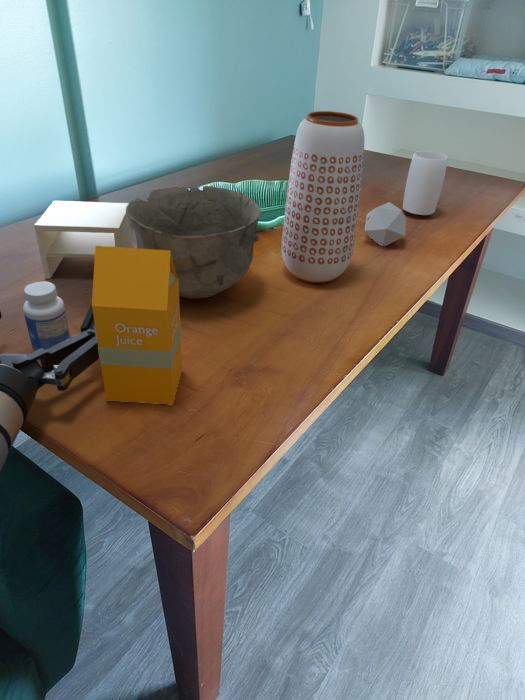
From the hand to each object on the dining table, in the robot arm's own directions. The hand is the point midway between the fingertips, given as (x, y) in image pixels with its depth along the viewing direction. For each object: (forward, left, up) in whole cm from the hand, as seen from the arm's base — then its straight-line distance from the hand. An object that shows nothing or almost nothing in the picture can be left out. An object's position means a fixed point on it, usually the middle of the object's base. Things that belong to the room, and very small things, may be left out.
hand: (46, 309), depth 75 cm
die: (+59, +41, -6) cm, 72 cm away
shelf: (0, +26, -6) cm, 27 cm away
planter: (+42, +25, -6) cm, 49 cm away
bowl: (+20, +18, -6) cm, 28 cm away
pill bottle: (0, -1, -6) cm, 6 cm away
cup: (+72, +59, -6) cm, 93 cm away
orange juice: (+15, -9, -6) cm, 19 cm away
